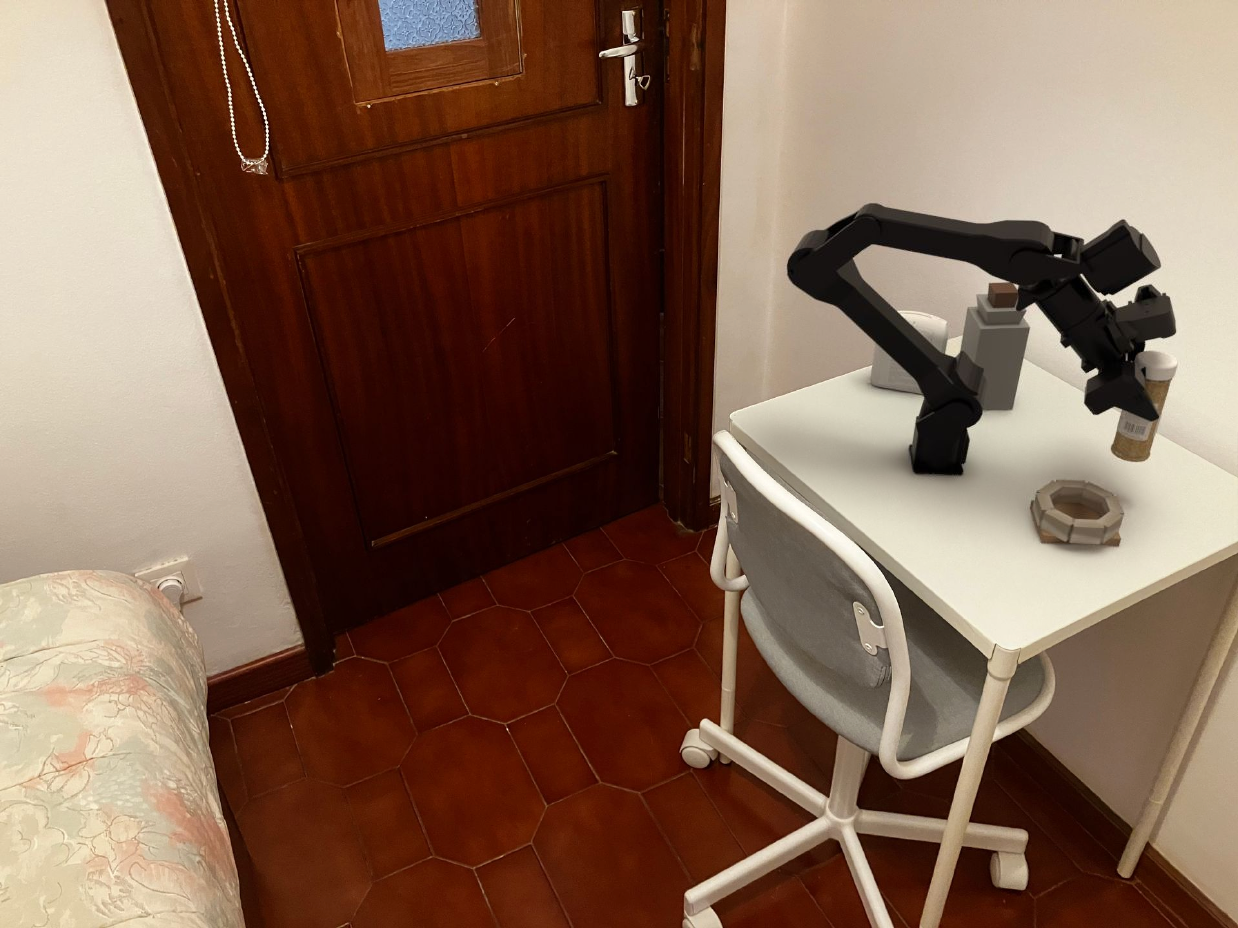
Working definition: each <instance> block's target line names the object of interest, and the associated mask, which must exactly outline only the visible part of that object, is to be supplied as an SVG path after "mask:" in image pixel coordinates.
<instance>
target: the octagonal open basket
mask: <svg viewBox="0 0 1238 928" xmlns="http://www.w3.org/2000/svg"><path fill="white" fill-rule="evenodd" d="M1034 496H1035V497H1034V499H1033V500H1031V501H1030V504H1029V511H1030V514H1031V516H1032V519H1033V522H1034V525H1035V529H1036V531H1037V535H1038V537H1039V540H1040V542H1041V544H1057V545H1077V546H1079V545H1080V546H1100V547H1103V546H1105V547H1120V544H1121V541H1122V537H1121V535H1120V533H1119V532H1120V530H1121V526H1122V523H1123V519H1124V516H1125V512H1124V511H1125V510H1124V509H1123V506H1122V504H1121V503H1120V500H1119V498H1118V496H1116V495H1115V494H1114V493H1113V492H1111V491H1109V490H1108V489H1105V488H1103V487H1101V486H1099V485H1097V484H1095V483H1093V482H1091V481H1087V482H1086V480H1079V479H1078V480H1077V479H1056V480H1054V479H1052V480H1051V481H1050V482H1048V483H1046V484H1045V485H1044V486H1042V487H1041V488H1039V489H1037V490H1036V493H1035V495H1034Z"/></svg>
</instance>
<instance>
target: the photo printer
mask: <svg viewBox="0 0 1238 928" xmlns="http://www.w3.org/2000/svg"><path fill="white" fill-rule="evenodd" d="M896 311H897V312H898V313H899V314H900V315H901V316H903V317H904V318H905V319H906V320H907V321H908V322H909V323H910V324H911V325H912V326H913V327H914V328H915V329H916V330H917V331H918V332H919V333H921V334H922V335H923V336H924V337H925V338H926V339H927V340H928V341H929V342H930V343H931V344H932V345H933V346H934V347H935V348H936V349H938V350H939V351H940V352H941V353H943V354H946V351H947V347H948V346H947V345H948V340H949V329H948V321H947V320H945V319H943V318H941V317H938V316H935V315H932V314H930V313H927V312H922V311H921V312H920V311H915V310H896ZM870 372H871V373H870V378H869V379H870V383H871V385H873V386H876V387H878V388H879V387H880V388H885V389H890V390H891V389H892V390H897V391H903V392H909V393H915V394H921V395H922V393H921V390H920V388H919V386H918V384H917V382H916V381H915V379H914V378H913V377H911V376H910V375H909V374H908V373H907V372H906V371H905V370H904V369H903V368H902V367H901V366H900V365H899V364H898V363H896V362H895V361H894V360H893V359H892V358H891V357H890V356H889V355H888V354H887V353H886V352H885V351H884V350H883V349H882V348H880V347H879V346H878V345H877V344H876V343H875V342H874V351H873V358H872V364H871V371H870Z"/></svg>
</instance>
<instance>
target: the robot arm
mask: <svg viewBox="0 0 1238 928" xmlns="http://www.w3.org/2000/svg"><path fill="white" fill-rule="evenodd" d="M872 245H873V246H874V245H876V246H879V247H884V248H885V247H886V248H890V249H896V250H901V251H904V252H905V251H907V252H912V253H918V254H922V255H927V256H933V257H937V258H943V259H948V260H954V261H959V262H965V263H967V264H969V265H973V266H976V267H977V268H979V269H980V270H982V271H983V272H985V273H986V274H988V275H990V276H991V277H994V278H996V279H998V280H1002V281H1004V282H1005V281H1006V282H1010V283H1013V284H1014V285H1015V286H1016V285H1017V286H1018V287H1017V290H1018V299H1017V303H1016V311H1022V310H1023V309H1026V308H1028V307H1030V306H1031V305H1033V304H1035V305H1036V306H1037V307H1038V309H1039V310H1040V311H1041V313H1043V315H1044V317H1046V318H1047V320H1048V321H1049V322H1050V324H1052V325H1053V327H1054V328H1055V330H1056V331H1057V332H1058V333H1059V334H1060V339H1059V343H1060V344H1061V345H1062V347H1063V348H1064V349H1067V348H1068V347H1070V348H1071V349H1072V350H1073V351H1074V353H1075V354H1076V355H1077V356H1078V358H1079V359H1080V361H1081V362H1080V368H1081V370H1082V371H1083V372H1084V373H1085V374H1088V373H1090V372H1091V371H1094V370H1095V369H1096V370H1097V374H1096V375H1095V374H1094V376H1092V377H1090V378H1089V379H1087V380H1086V384H1085V386H1084V395H1083V396H1084V398H1083V404H1084V406H1086V408H1087V410H1089V411H1090V413H1091V414H1092V415H1094V416H1099V415H1101V414H1103V413H1105V412H1107V411H1108V410H1110V409H1112V408H1116V409H1120V410H1121V411H1122V410H1124V411H1127V412H1129V413H1132V414H1134V415H1136V416H1139V417H1141V418H1143V419H1146V420H1148V421H1151V422H1152V421H1155V420H1157V419H1159V414H1158V412H1157V410H1156V408H1155V406H1154V404H1153V402H1152V400H1151V398H1150V397H1149V395H1148V393H1147V391H1146V389H1145V381H1146V367H1144V368H1142V369H1140V368H1139V367H1138V366H1137V364H1136V363H1134V361H1135V358H1136V355H1137V354H1138V353H1140V352H1143V351H1145V349H1146V341H1152V340H1156V339H1163V340H1164V339H1168V338H1171V337H1173V336H1175V335H1176V333H1177V325H1176V321H1177V320H1176V317H1175V313H1174V312H1175V311H1174V309H1173V305H1172V304H1173V303H1172V301H1171V297H1170V296H1169V295H1167V293H1166V292H1162V293H1161V292H1160V291H1159V290H1158V289H1157V288H1156V287H1155V286H1154V285H1153V283H1148V284H1145V285H1140V286H1138V287H1137V289H1136V294H1135V296H1134V300H1127V304H1126V305H1123V306H1119V307H1117V306H1116V305H1115V304H1114V303H1113V301H1111V300H1108V299H1106V298H1105V299H1103V300H1101V299H1100V298H1099V296H1098V295H1097V294H1101V295H1102V296H1104V297H1106V296H1108V295H1111V296H1114V295H1116V294H1118V293H1120V292H1121V291H1123V290H1125V289H1126V288H1128V287H1130V286H1131V285H1133V284H1135V283H1137V282H1139V281H1141V280H1143V279H1144V278H1146V277H1147V276H1149V275H1151V274H1153V273H1155V272H1156V271H1158V270H1159V269H1161V267H1162V263H1161V259H1160V257H1159V255H1158V253H1157V251H1156V249H1155V248H1154V246H1153V245H1152V243H1151V241H1150V240H1149V238H1148V237H1147V236H1146V235H1145V234H1144V233H1143V232H1142V233H1141V232H1140V230H1138V229H1137V228H1136V227H1134V226H1132V225H1130V224H1129V223H1128V222H1127V220H1126V219H1122V218H1121V219H1120V220H1119V221H1117V222H1115V223H1114V224H1112V225H1111V226H1110V227H1109V228H1108V229H1107V230H1105V231H1104V232H1102V233H1101V234H1099V235H1097V236H1096V237H1095V238H1092V239H1091V240H1089V241H1088V242H1087V243H1085V239H1084V238H1082V237H1078V236H1074V235H1071V234H1066V233H1062V232H1058V231H1054V230H1052V229H1051V228H1050V226H1049V225H1047V224H1046V223H1044V222H1042V221H1038V220H1032V219H1031V220H1026V219H1024V220H1023V219H1021V220H1020V219H1006V220H1005V219H1004V220H999V221H992V222H988V223H987V222H986V223H985V222H983V223H982V222H981V223H980V222H972V221H966V220H961V219H957V218H956V219H955V218H950V217H944V216H938V215H932V214H928V213H920V212H916V211H910V210H906V209H905V210H903V209H898V208H894V207H893V208H892V207H888V206H884V205H882V204H880V203H877V202H870V203H867V204H864V205H863V206H862V207H860V208H859V209H858V210H856V211H855V212H853V213H851V214H849V215H847V216H845V217H843V218H841V219H838V220H837V221H836V222H834V223H832V224H830V226H828V227H827V228H825V229H814V230H811V231H809V232H807V233H805V234H804V235H803V237H802V238H801V239H800V241H799V242H798V244H797V245H796V247H795V248H794V250H793V251H792V253H791V254H790V256H789V257H788V259H787V264H786V272H787V273H786V276H787V277H788V280H789V281H790V283H791V284H792V285H793V286H795V287H796V288H797V289H799V290H800V291H802V292H803V293H805V294H806V295H807V296H810V297H811V298H812V299H814V300H816V301H819V302H821V303H825V304H827V305H830V306H835V307H836V308H837V309H839V310H840V311H841V312H842V313H843V314H844V315H845V316H846V317H847V318H848V319H849V320H851V322H852V323H854V324H855V325H856V326H857V327H858V328H859V329H860V330H862V332H864V334H865V335H867V336H868V338H870V339H871V340H872V341H873V342H874V344H875V343H876V344H877V345H878V346H879V347H880V348H882V349H883V350H884V351H885V352H886V353H887V354H888V355H889V356H890V357H891V358H892V359H893V360H894V361H895V362H896V363H898V364H899V365H900V366H901V367H902V368H903V369H904V370H905V371H906V372H907V373H908V374H909V375H910V376H911V377H913V378H914V379H915V381H916V382H917V384H918V386H919V388H920V390H921V393H922V394H921V395H922V396H923V401H922V403H921V407H920V410H919V414H918V415H917V416H915V423H914V428H913V429H914V430H913V435H912V442H911V444H909V445H908V453H909V457H910V464H911V467H912V472H913V474H915V475H934V476H935V475H937V476H939V475H940V476H963V474H964V468H963V467H964V466H963V465H965V464H966V463H967V457H968V452H969V447H970V441H971V438H970V435H969V431H968V429H969V428H971V427H973V426H975V425H976V424H977V423H979V421H980V420H981V418H982V416H983V412H984V411H983V409H984V405H985V400H986V396H987V391H988V382H987V380H986V378H985V376H984V375H983V374H984V368H982V367H979V366H977V365H976V364H975V363H973V362H972V360H971V359H970V358H969V356H968V355H967V354H966V353H965V352H964V351H961V352H960V351H959V352H958V354H957V355H956V356H952V355H949V354H946V353H945V354H943V353H941V352H940V351H939V350H938V349H936V348H935V347H934V346H933V345H932V344H931V343H930V342H929V341H928V340H927V339H926V338H925V337H924V336H923V335H922V334H921V333H919V332H918V331H917V330H916V329H915V328H914V327H913V326H912V325H911V324H910V323H909V322H908V321H907V320H906V319H905V318H904V317H903V316H901V315H900V314H899V313H898V312H897V311H898V310H897V309H895V308H894V307H893V306H892V305H891V304H890V303H889V302H888V301H887V300H886V299H885V298H884V297H882V295H881V294H879V293H878V292H877V291H876V290H875V289H874V288H873V287H872V286H871V285H870V284H869V283H868V282H867V281H866V280H864V278H863V277H862V275H861V272H860V270H859V268H858V267H857V264H856V262H855V260H854V258H855V257H857V256H858V255H859V254H860V253H861V252H862V251H865V249H866V250H867V248H869V247H871V246H872ZM1055 255H1061V256H1060V257H1059V256H1055ZM1083 277H1084V278H1085V279H1084V278H1083ZM1096 293H1097V294H1096Z"/></svg>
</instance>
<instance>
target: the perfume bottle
mask: <svg viewBox="0 0 1238 928" xmlns="http://www.w3.org/2000/svg"><path fill="white" fill-rule="evenodd" d="M987 288H988V289H987V293H984V294H983V293H982V294H979V293H978V294H976V295H975V296H976V306H967V307H966V308H967V309H966V314H965V320H964V321H965V322H964V327H963V331H962V332H963V333H962V338H961V344H960V350H959V353H960V352H961V351H964V352H965V353H966V354H967V355H968V356H969V358H970V359H971V360H972V362H973V363H975V364H976V365H977V366H979V367H982V368H984V374H983V375H984V376H985V378H986V380H987V382H988V391H987V396H986V400H985V405H984V409H983V412H985V411H986V412H988V411H1013V409H1014V404H1015V401H1016V394H1017V390H1018V386H1019V381H1020V376H1021V372H1022V367H1023V364H1024V363H1023V362H1024V358H1025V353H1026V349H1027V344H1028V340H1029V335H1030V329H1031V326H1030V325H1029V323H1028V322H1027V320H1026V318H1025V317H1024V316H1025V315H1026V312H1027V311H1028V310H1027V309H1026V308H1025V309H1023V310H1022V311H1016V303H1017V299H1018V287H1017V286H1016V284H1013V283H1010V282H1008V281H1006V282H1005V281H1004V282H988V287H987Z"/></svg>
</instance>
